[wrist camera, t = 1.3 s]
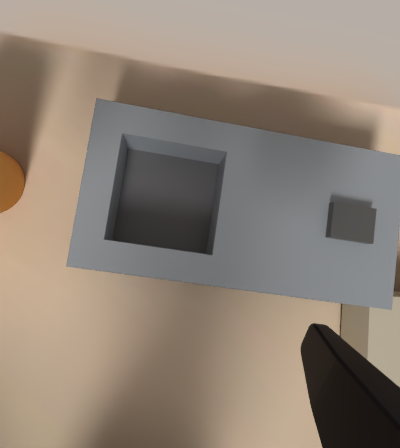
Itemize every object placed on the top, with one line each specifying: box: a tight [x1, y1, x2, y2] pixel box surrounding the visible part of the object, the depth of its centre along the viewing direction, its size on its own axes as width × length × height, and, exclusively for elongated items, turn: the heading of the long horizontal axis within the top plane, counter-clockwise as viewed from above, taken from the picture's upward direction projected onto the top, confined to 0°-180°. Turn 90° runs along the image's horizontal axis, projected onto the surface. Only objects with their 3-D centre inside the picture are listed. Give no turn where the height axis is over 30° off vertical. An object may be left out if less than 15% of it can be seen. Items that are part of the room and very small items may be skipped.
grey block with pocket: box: [66, 98, 400, 310], centre depth 21 cm, size 20×10×5 cm, turn 82°
